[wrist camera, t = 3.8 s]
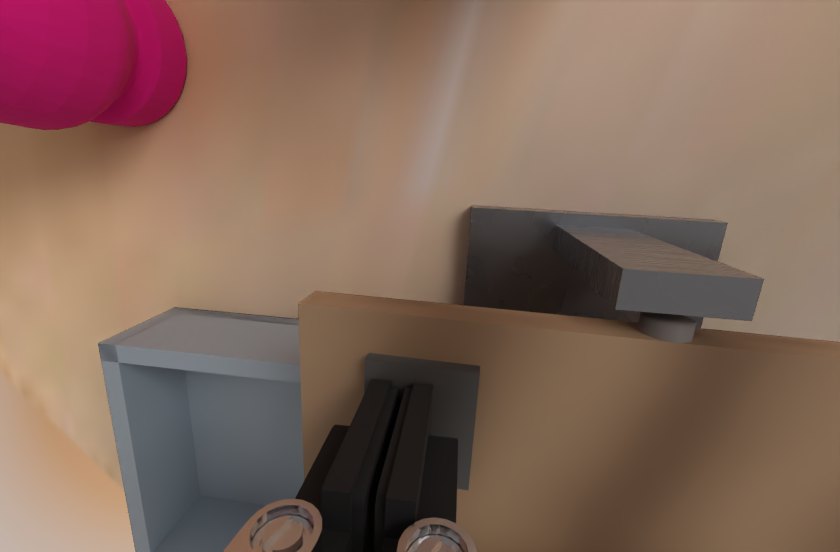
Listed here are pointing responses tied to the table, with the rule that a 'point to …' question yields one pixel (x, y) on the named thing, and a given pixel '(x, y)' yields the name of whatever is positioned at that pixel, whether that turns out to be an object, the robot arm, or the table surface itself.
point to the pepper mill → (88, 62)
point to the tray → (597, 422)
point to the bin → (204, 423)
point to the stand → (603, 265)
